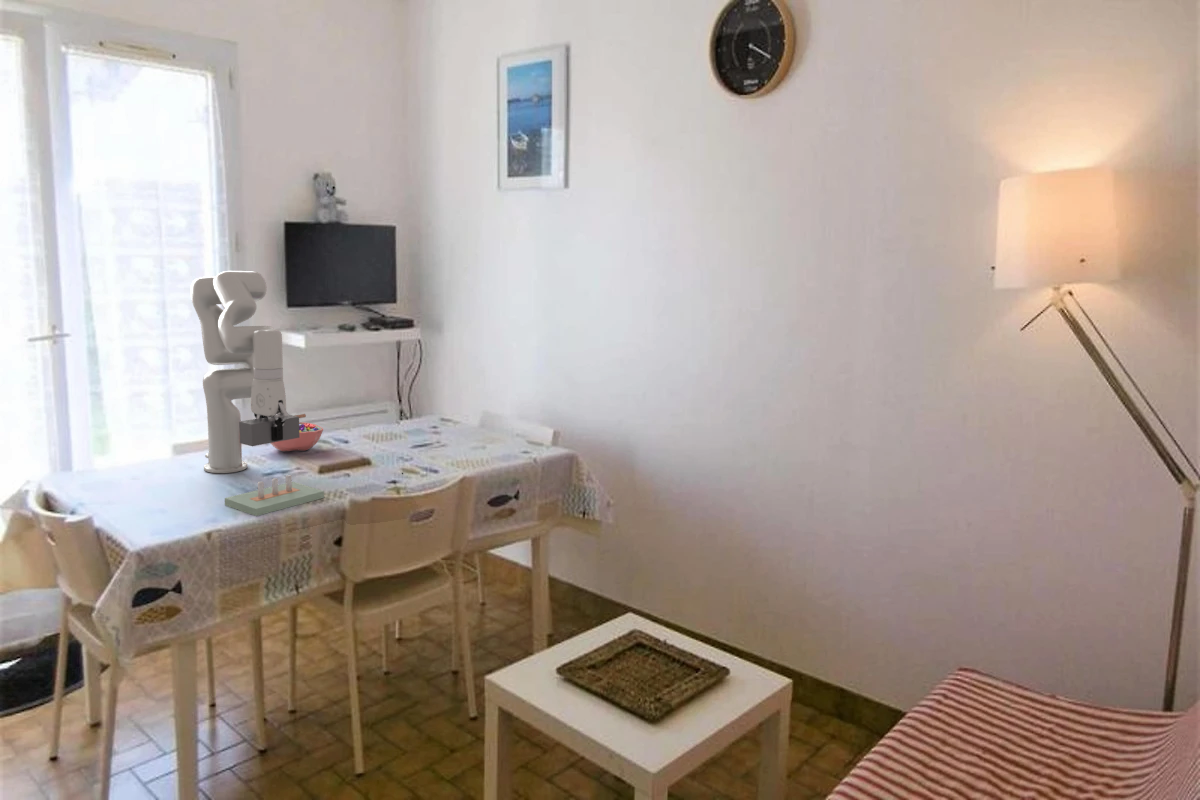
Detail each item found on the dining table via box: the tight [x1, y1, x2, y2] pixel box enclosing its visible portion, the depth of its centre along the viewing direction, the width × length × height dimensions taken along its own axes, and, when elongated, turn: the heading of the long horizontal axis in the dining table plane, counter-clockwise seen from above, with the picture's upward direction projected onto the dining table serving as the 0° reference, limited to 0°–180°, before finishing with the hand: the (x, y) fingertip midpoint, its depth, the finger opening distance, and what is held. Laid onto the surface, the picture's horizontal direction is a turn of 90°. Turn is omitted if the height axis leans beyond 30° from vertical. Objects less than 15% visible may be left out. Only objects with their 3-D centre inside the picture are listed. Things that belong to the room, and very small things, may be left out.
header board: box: [224, 474, 325, 517], centre depth 239 cm, size 14×22×6 cm, turn 146°
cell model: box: [269, 421, 324, 452], centre depth 293 cm, size 17×20×11 cm
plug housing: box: [239, 413, 307, 447], centre depth 238 cm, size 6×19×6 cm, turn 146°
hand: (270, 437), depth 236 cm, fingers closed on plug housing, 5 cm apart
